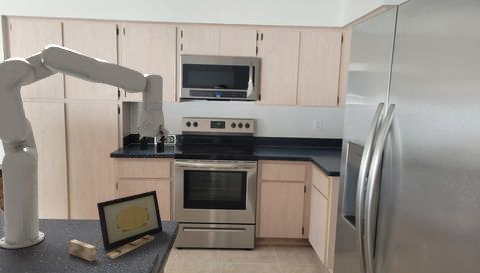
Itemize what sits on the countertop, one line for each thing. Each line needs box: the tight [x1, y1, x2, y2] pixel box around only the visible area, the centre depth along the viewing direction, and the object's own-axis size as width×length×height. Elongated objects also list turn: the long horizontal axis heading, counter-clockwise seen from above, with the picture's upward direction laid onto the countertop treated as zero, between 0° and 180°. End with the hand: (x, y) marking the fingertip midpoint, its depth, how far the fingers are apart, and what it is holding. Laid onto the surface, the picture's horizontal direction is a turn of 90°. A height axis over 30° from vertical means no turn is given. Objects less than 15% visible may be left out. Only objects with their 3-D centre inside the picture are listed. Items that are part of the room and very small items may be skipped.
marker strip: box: [105, 235, 155, 260], centre depth 111 cm, size 3×18×1 cm, turn 152°
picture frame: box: [96, 190, 163, 251], centre depth 120 cm, size 23×9×15 cm, turn 143°
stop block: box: [69, 239, 97, 262], centre depth 103 cm, size 10×2×4 cm, turn 62°
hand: (152, 151), depth 131 cm, fingers open, 9 cm apart
